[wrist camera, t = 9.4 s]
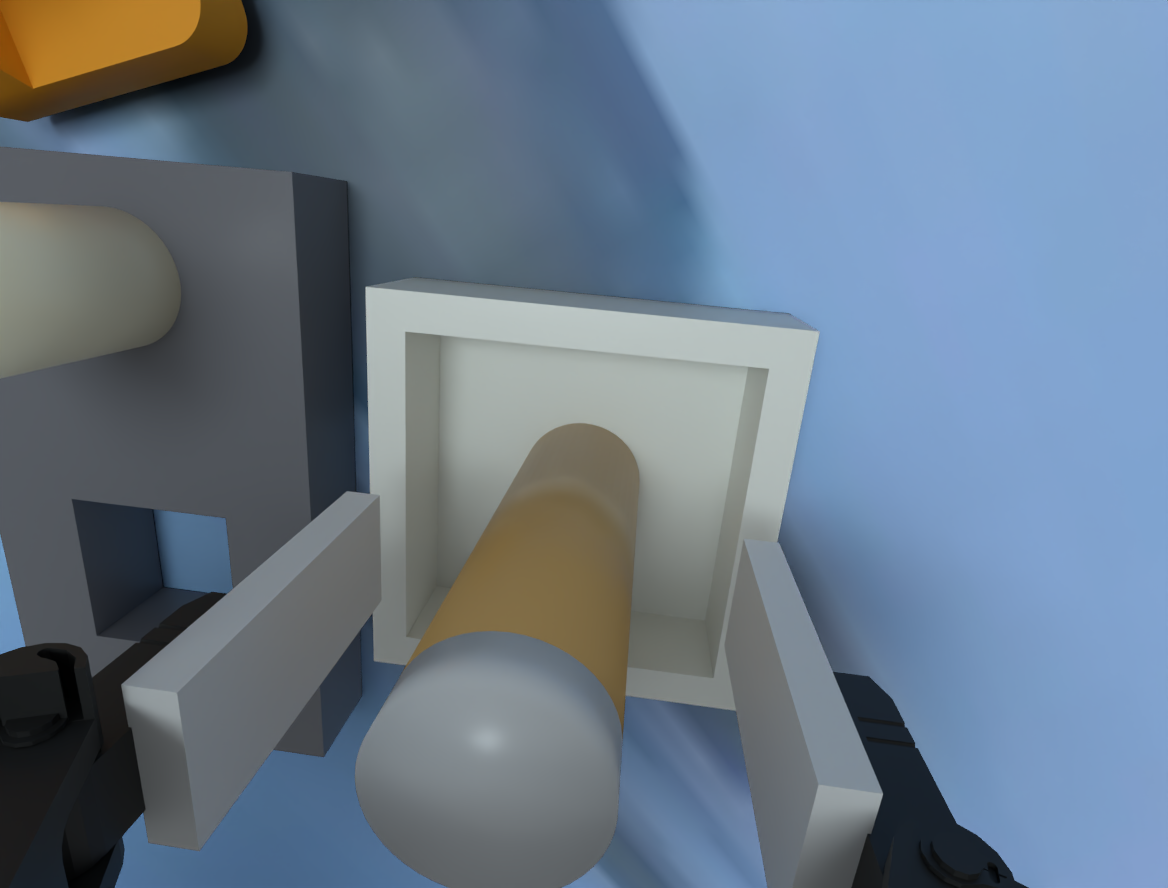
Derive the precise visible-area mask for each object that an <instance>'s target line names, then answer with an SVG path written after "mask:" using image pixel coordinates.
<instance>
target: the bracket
mask: <svg viewBox="0 0 1168 888" xmlns="http://www.w3.org/2000/svg"><path fill="white" fill-rule="evenodd" d="M246 38H247V18H246V14H245V10H244V7H243V4H242V1H241V0H0V117H4V118H9V119H15V120H21V121H26V122H29V121H32V120H36V119H39V118H43V117H46V116H49V115H53V114H56V113H60V112H63V111H67V110H70V109H74V108H77V107H81V106H84V105H88V104H91V103H95V102H98V101H101V100H105V99H108V98H112V97H115V96H119V95H122V94H126V93H129V92H133V91H136V90H140V89H143V88H147V87H150V86H153V85H157V84H160V83H164V82H167V81H171V80H174V79H178V78H181V77H185V76H188V75H192V74H195V73H199V72H202V71H205V70H209V69H212V68H216V67H219V66H223V65H226V64H228V63H230V62H232V61H233V60H234V59H235V58H237V56H238V55H239V54H240V53H241V51H242V49H243V47H244V45H245V42H246Z"/></svg>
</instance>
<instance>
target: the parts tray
mask: <svg viewBox="0 0 1168 888" xmlns="http://www.w3.org/2000/svg"><path fill="white" fill-rule="evenodd" d="M366 332H367V377H368V422H369V467H370V494H375V495H380V538H381V597H382V601H381V602H380V603H379V605H378V606H377V608H376V609H375V610H374V612H373V647H374V661H376V662H384V663H391V664H398V665H407V663H408V661H409V660H410V658H411V656H412V654H413V653H414V651H415V649H416V648H417V646H418V644H419V642H420V641H421V639H422V637H423V635H424V634H425V632H426V630H427V629H428V627H429V625H430V623H431V622H432V620H433V618H434V616H435V615H436V613H437V611H438V610H439V608H440V606H441V604H442V603H443V601H444V599H445V597H446V596H447V594H448V592H449V591H450V589H451V587H452V585H453V584H454V582H455V580H456V578H457V577H458V575H459V573H460V572H461V570H462V568H463V566H464V565H465V563H466V561H467V559H468V558H469V556H470V554H471V553H472V551H473V549H474V547H475V546H476V544H477V542H478V540H479V539H480V537H481V535H482V533H483V532H484V530H485V528H486V527H487V525H488V523H489V521H490V520H491V518H492V516H493V514H494V513H495V511H496V509H497V508H498V506H499V504H500V502H501V501H502V499H503V497H504V495H505V494H506V492H507V490H508V489H509V487H510V485H511V483H512V482H513V480H514V478H515V476H516V475H517V473H518V471H519V470H520V468H521V466H522V464H523V463H524V461H525V459H526V457H527V456H528V454H529V452H530V451H531V449H532V447H533V446H534V445H535V443H536V442H537V441H538V440H539V439H540V438H541V437H542V436H543V435H545V434H546V433H548V432H549V431H551V430H553V429H555V428H557V427H560V426H563V425H567V424H574V423H586V424H592V425H596V426H599V427H602V428H604V429H607V430H609V431H610V432H612V433H614V434H615V435H616V436H618V437H619V438H620V439H621V440H622V441H623V442H624V443H625V444H626V445H627V446H628V448H629V449H630V450H631V452H632V454H633V456H634V457H635V460H636V463H637V466H638V470H639V478H640V479H639V496H638V511H637V527H636V542H635V557H634V573H633V588H632V603H631V619H630V634H629V649H628V665H627V680H626V695H625V696H632V697H639V698H646V699H654V700H661V701H668V702H675V703H683V704H690V705H697V706H705V707H712V708H719V709H726V710H734V711H736V708H735V703H734V697H733V691H732V686H731V680H730V675H729V669H728V663H727V658H726V652H725V647H724V644H725V639H726V633H727V628H728V622H729V617H730V611H731V606H732V600H733V595H734V589H735V584H736V578H737V573H738V567H739V562H740V556H741V551H742V546H743V540H744V539H750V540H759V541H767V542H775V543H777V541H778V536H779V531H780V526H781V521H782V516H783V511H784V506H785V501H786V496H787V491H788V486H789V481H790V476H791V471H792V466H793V461H794V456H795V451H796V446H797V442H798V437H799V432H800V427H801V422H802V417H803V412H804V407H805V402H806V397H807V392H808V387H809V382H810V377H811V372H812V367H813V362H814V357H815V352H816V347H817V342H818V337H819V332H820V331H818V330H816V329H814V328H813V327H811V326H809V325H808V324H806V323H804V322H803V321H801V320H799V319H798V318H796V317H794V316H792V315H791V314H788V313H778V312H767V311H757V310H747V309H736V308H726V307H716V306H705V305H695V304H685V303H674V302H664V301H654V300H644V299H633V298H623V297H613V296H602V295H592V294H582V293H571V292H561V291H551V290H540V289H530V288H520V287H510V286H499V285H489V284H479V283H468V282H458V281H448V280H437V279H427V278H417V277H413V278H408V279H403V280H398V281H393V282H388V283H383V284H377V285H372V286H367V287H366Z"/></svg>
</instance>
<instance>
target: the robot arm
mask: <svg viewBox="0 0 1168 888" xmlns="http://www.w3.org/2000/svg"><path fill="white" fill-rule="evenodd" d="M381 601H382V597H381V538H380V495H375V494H366V493H358V492H350V491H347V492H346V493H344V494H343V495H342V496H341V497H340V498H339V499H337V500H336V501H335V502H334V503H333V504H331V505H330V506H329V507H328V508H327V509H326V510H324V511H323V512H322V513H321V514H320V515H319V516H317V517H316V518H315V519H314V520H313V521H312V522H310V523H309V524H308V525H307V526H306V527H305V528H303V529H302V530H301V531H300V532H299V533H298V534H296V535H295V536H294V537H293V538H292V539H291V540H289V541H288V542H287V543H286V544H285V545H284V546H282V547H281V548H280V549H279V550H278V551H277V552H275V553H274V554H273V555H272V556H271V557H270V558H268V559H267V560H266V561H265V562H264V563H263V564H261V565H260V566H259V567H258V568H257V569H256V570H254V571H253V572H252V573H251V574H250V575H249V576H247V577H246V578H245V579H244V580H243V581H242V582H240V583H239V584H238V585H237V586H236V587H235V588H233V589H232V590H231V591H230V592H229V593H228V594H224V593H217V592H210V593H208V594H206V595H204V596H202V597H200V598H198V599H195V600H193V601H191V602H189V603H187V604H185V605H183V606H181V607H180V608H178V609H177V610H176V611H175V612H173V613H172V614H171V615H170V616H168V617H167V618H166V619H165V620H163V621H162V622H161V623H160V624H159V627H158V628H156V627H155V628H153V629H152V630H151V631H150V632H148V633H147V634H146V635H145V636H143V637H142V638H141V641H140V642H139V643H135V644H133V645H132V646H131V647H130V648H128V649H127V650H126V651H125V652H123V653H122V654H121V655H120V656H118V657H117V658H116V659H115V660H113V661H112V662H111V663H110V664H108V665H107V666H106V667H105V668H103V669H102V670H101V671H100V672H98V673H97V674H96V675H95V676H93V677H92V676H91V671H90V665H89V660H88V656H87V654H86V653H85V652H84V651H83V649H82V648H81V647H78V646H75V645H71V644H68V643H42V644H37V645H32V646H26V647H21V648H18V649H15V650H12V651H9V652H6V653H4V654H1V655H0V888H114V887H115V885H116V882H117V879H118V876H119V873H120V871H121V868H122V865H123V859H124V844H123V839H122V836H123V835H124V833H125V832H126V831H127V830H128V829H129V828H130V827H131V825H132V824H133V823H134V822H135V821H136V820H137V819H138V817H139V816H140V815H141V814H142V813H143V814H144V819H145V825H146V831H147V837H148V842H149V843H152V844H158V845H165V846H171V847H177V848H183V849H190V850H196V851H200V849H201V848H202V847H203V845H204V844H205V843H206V841H207V840H208V839H209V837H210V836H211V834H212V833H213V832H214V830H215V829H216V828H217V826H218V825H219V823H220V822H221V821H222V819H223V818H224V817H225V815H226V814H227V812H228V811H229V810H230V808H231V807H232V806H233V804H234V803H235V801H236V800H237V799H238V797H239V796H240V795H241V793H242V792H243V790H244V789H245V788H246V786H247V785H248V784H249V782H250V781H251V779H252V778H253V777H254V775H255V774H256V773H257V771H258V770H259V768H260V767H261V766H262V764H263V763H264V762H265V760H266V759H267V757H268V756H269V755H270V753H271V752H272V751H273V749H274V748H275V746H276V745H277V744H278V742H279V741H280V740H281V738H282V737H283V735H284V734H285V733H286V731H287V730H288V729H289V727H290V726H291V724H292V723H293V722H294V720H295V719H296V718H297V716H298V715H299V713H300V712H301V711H302V709H303V708H304V707H305V705H306V704H307V702H308V701H309V700H310V698H311V697H312V696H313V694H314V693H315V691H316V690H317V689H318V687H319V686H320V685H321V683H322V682H323V680H324V679H325V678H326V676H327V675H328V674H329V672H330V671H331V669H332V668H333V667H334V665H335V664H336V663H337V661H338V660H339V658H340V657H341V656H342V654H343V653H344V652H345V650H346V649H347V647H348V646H349V645H350V643H351V642H352V641H353V639H354V638H355V636H356V635H357V634H358V632H359V631H360V630H361V628H362V627H363V625H364V624H365V623H366V621H367V620H368V619H369V617H370V616H371V614H372V613H373V612H374V610H375V609H376V608H377V606H378V605H379V603H380V602H381ZM724 647H725V652H726V658H727V663H728V669H729V675H730V680H731V686H732V691H733V697H734V703H735V708H736V714H737V719H738V725H739V730H740V736H741V742H742V747H743V753H744V758H745V764H746V770H747V775H748V781H749V786H750V792H751V797H752V803H753V809H754V814H755V820H756V825H757V831H758V837H759V842H760V848H761V853H762V859H763V864H764V870H765V876H766V881H767V887H768V888H1028V887H1026V886H1024V885H1022V884H1020V883H1018V882H1016V881H1015V880H1014V878H1013V875H1012V872H1011V871H1010V870H1009V868H1008V867H1007V865H1006V864H1005V863H1004V861H1003V860H1002V859H1001V857H1000V856H999V855H998V853H997V852H996V851H995V850H993V849H992V848H991V847H990V846H989V845H988V844H986V843H985V842H984V841H983V840H982V839H981V838H980V837H978V836H977V835H976V834H974V833H972V832H970V831H969V830H967V829H965V828H963V827H961V826H960V825H958V824H957V823H956V821H955V819H954V818H953V816H952V814H951V812H950V810H949V808H948V806H947V804H946V802H945V800H944V798H943V796H942V794H941V792H940V791H939V789H938V787H937V785H936V783H935V781H934V779H933V777H932V775H931V773H930V771H929V769H928V767H927V765H926V763H925V762H924V760H923V758H922V756H921V754H920V752H919V750H918V748H915V742H914V740H913V738H912V736H911V734H910V733H909V731H908V729H907V728H905V726H904V724H905V723H904V721H903V719H902V717H901V715H900V713H899V711H898V709H897V707H896V706H895V704H894V702H893V700H892V698H891V697H890V696H889V695H888V694H886V693H885V692H884V691H883V690H882V689H881V688H880V687H879V686H878V685H877V684H876V683H875V682H874V681H873V680H872V679H871V678H870V677H868V676H860V675H853V674H845V673H838V672H832V669H831V667H830V664H829V662H828V659H827V657H826V655H825V652H824V650H823V647H822V645H821V643H820V640H819V638H818V635H817V633H816V631H815V628H814V626H813V623H812V621H811V618H810V616H809V614H808V611H807V609H806V606H805V604H804V602H803V599H802V597H801V594H800V592H799V590H798V587H797V585H796V582H795V580H794V577H793V575H792V573H791V570H790V568H789V565H788V563H787V561H786V558H785V556H784V553H783V551H782V548H781V546H780V544H779V543H775V542H767V541H759V540H750V539H744V540H743V546H742V551H741V556H740V562H739V567H738V573H737V578H736V584H735V589H734V595H733V600H732V606H731V611H730V617H729V622H728V628H727V633H726V639H725V644H724Z"/></svg>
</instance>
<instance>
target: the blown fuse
mask: <svg viewBox="0 0 1168 888" xmlns="http://www.w3.org/2000/svg"><path fill="white" fill-rule="evenodd" d="M639 479H640V478H639V470H638V466H637V463H636V460H635V457H634V456H633V454H632V452H631V450H630V449H629V448H628V446H627V445H626V444H625V443H624V442H623V441H622V440H621V439H620V438H619V437H618V436H616V435H615V434H614V433H612V432H610V431H609V430H607V429H604V428H602V427H599V426H596V425H592V424H586V423H574V424H567V425H563V426H560V427H557V428H555V429H553V430H551V431H549V432H548V433H546V434H545V435H543V436H542V437H541V438H540V439H539V440H538V441H537V442H536V443H535V445H534V446H533V447H532V449H531V451H530V452H529V454H528V456H527V457H526V459H525V461H524V463H523V464H522V466H521V468H520V470H519V471H518V473H517V475H516V476H515V478H514V480H513V482H512V483H511V485H510V487H509V489H508V490H507V492H506V494H505V495H504V497H503V499H502V501H501V502H500V504H499V506H498V508H497V509H496V511H495V513H494V514H493V516H492V518H491V520H490V521H489V523H488V525H487V527H486V528H485V530H484V532H483V533H482V535H481V537H480V539H479V540H478V542H477V544H476V546H475V547H474V549H473V551H472V553H471V554H470V556H469V558H468V559H467V561H466V563H465V565H464V566H463V568H462V570H461V572H460V573H459V575H458V577H457V578H456V580H455V582H454V584H453V585H452V587H451V589H450V591H449V592H448V594H447V596H446V597H445V599H444V601H443V603H442V604H441V606H440V608H439V610H438V611H437V613H436V615H435V616H434V618H433V620H432V622H431V623H430V625H429V627H428V629H427V630H426V632H425V634H424V635H423V637H422V639H421V641H420V642H419V644H418V646H417V648H416V649H415V651H414V653H413V654H412V656H411V658H410V660H409V661H408V663H407V665H406V667H405V668H404V670H403V672H402V673H401V675H400V677H399V679H398V680H397V682H396V684H395V686H394V687H393V689H392V691H391V693H390V694H389V696H388V698H387V699H386V701H385V703H384V705H383V706H382V708H381V710H380V712H379V713H378V715H377V717H376V718H375V720H374V722H373V724H372V725H371V727H370V729H369V731H368V732H367V734H366V736H365V737H364V739H363V742H362V744H361V746H360V749H359V751H358V756H357V760H356V765H355V785H356V792H357V796H358V800H359V804H360V807H361V809H362V811H363V814H364V816H365V818H366V820H367V822H368V823H369V825H370V827H371V828H372V830H373V832H374V833H375V834H376V835H377V837H378V838H379V839H380V841H381V842H382V843H383V844H384V845H385V846H386V847H387V848H388V849H389V850H390V851H391V853H392V854H394V855H395V856H396V857H397V858H398V859H400V860H401V861H402V862H403V863H404V864H406V865H407V866H409V867H410V868H412V869H413V870H415V871H416V872H417V873H419V874H421V875H423V876H425V877H427V878H428V879H430V880H432V881H434V882H437V883H439V884H441V885H444V886H446V887H449V888H561V887H563V886H566V885H568V884H570V883H572V882H573V881H575V880H577V879H578V878H580V877H581V876H583V875H584V874H585V873H586V872H588V871H589V870H590V869H591V868H592V867H594V865H595V864H596V863H597V862H598V861H599V860H600V859H601V857H602V856H603V855H604V853H605V851H606V850H607V848H608V847H609V845H610V842H611V840H612V838H613V835H614V833H615V828H616V824H617V818H618V803H619V787H620V772H621V757H622V741H623V726H624V711H625V695H626V680H627V665H628V649H629V634H630V619H631V603H632V588H633V573H634V557H635V542H636V527H637V511H638V496H639Z"/></svg>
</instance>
